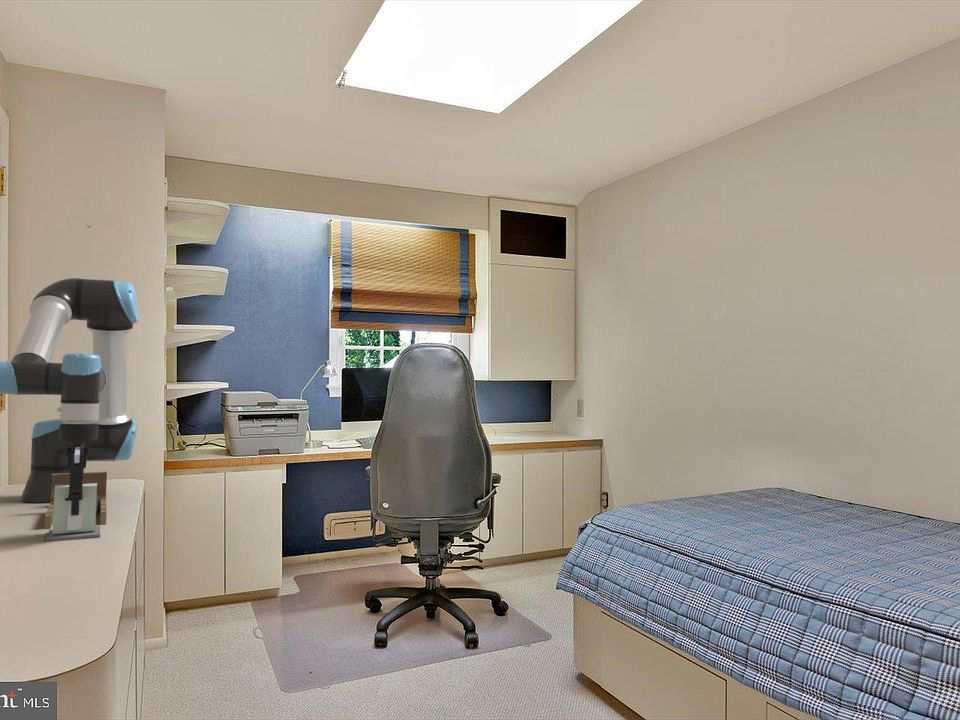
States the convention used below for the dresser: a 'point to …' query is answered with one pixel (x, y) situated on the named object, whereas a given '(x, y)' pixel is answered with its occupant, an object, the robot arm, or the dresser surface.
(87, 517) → the block
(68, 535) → the rubber pad
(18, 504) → the dresser surface
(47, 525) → the rack
